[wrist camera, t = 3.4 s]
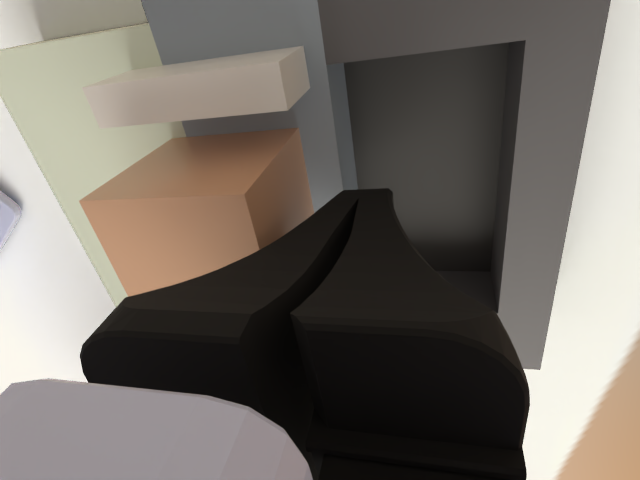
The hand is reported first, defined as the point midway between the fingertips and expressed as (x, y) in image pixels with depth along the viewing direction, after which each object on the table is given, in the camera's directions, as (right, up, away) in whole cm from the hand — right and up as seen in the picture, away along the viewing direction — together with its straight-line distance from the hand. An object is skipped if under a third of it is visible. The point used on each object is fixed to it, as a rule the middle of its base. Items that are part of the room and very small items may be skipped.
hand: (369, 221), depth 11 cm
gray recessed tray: (0, +2, +3) cm, 3 cm away
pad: (-7, +2, +5) cm, 9 cm away
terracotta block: (-3, 0, +2) cm, 4 cm away
